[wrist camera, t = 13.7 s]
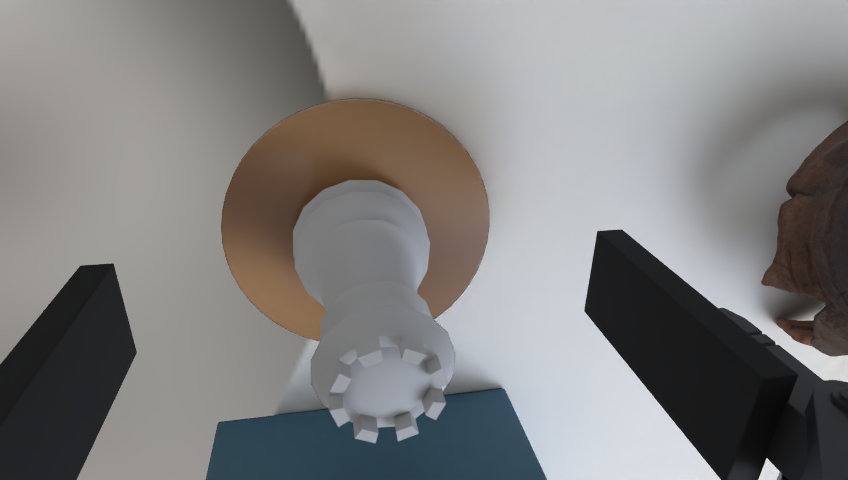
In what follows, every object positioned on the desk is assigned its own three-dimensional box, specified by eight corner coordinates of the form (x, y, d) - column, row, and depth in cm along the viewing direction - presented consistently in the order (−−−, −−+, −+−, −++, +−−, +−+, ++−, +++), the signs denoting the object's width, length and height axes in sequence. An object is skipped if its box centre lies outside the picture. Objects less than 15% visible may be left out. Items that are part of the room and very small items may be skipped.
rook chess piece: (374, 314, 20) (408, 500, 13) (265, 254, 18) (235, 431, 11) (450, 220, 19) (534, 366, 12) (343, 147, 17) (365, 266, 10)
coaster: (202, 101, 16) (199, 104, 16) (495, 94, 18) (498, 97, 17) (241, 350, 20) (240, 357, 20) (479, 327, 22) (482, 333, 21)
